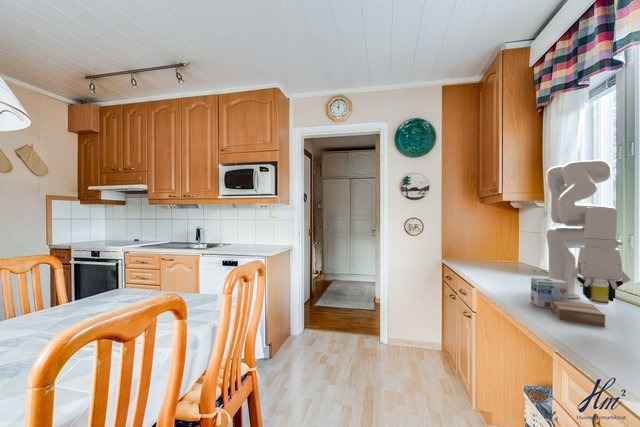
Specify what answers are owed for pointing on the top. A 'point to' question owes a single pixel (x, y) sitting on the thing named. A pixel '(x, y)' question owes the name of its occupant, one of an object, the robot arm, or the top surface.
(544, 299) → the light bulb box
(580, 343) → the top surface
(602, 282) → the supplement bottle
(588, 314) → the walnut stand
